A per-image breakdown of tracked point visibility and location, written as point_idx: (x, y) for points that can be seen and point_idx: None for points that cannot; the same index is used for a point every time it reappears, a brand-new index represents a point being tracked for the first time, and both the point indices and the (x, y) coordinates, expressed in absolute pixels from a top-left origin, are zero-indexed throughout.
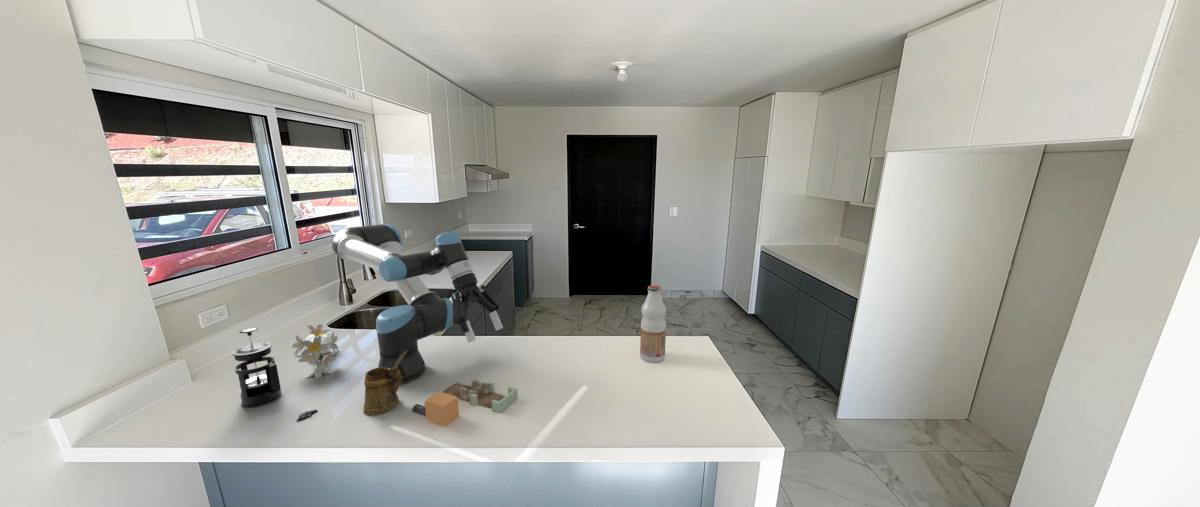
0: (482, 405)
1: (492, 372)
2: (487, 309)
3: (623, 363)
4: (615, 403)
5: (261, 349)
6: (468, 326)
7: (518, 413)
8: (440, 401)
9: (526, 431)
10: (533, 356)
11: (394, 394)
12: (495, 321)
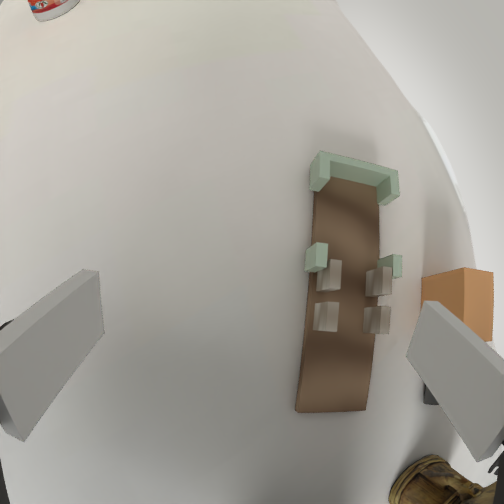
0: (377, 243)
1: (174, 342)
2: (2, 476)
3: (77, 28)
4: (240, 7)
5: None
6: (500, 366)
7: (352, 148)
8: (485, 297)
9: (389, 117)
10: (33, 247)
11: (434, 472)
12: (64, 343)
